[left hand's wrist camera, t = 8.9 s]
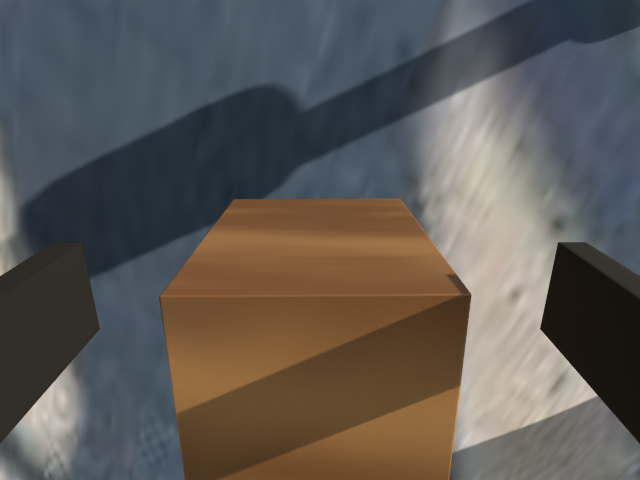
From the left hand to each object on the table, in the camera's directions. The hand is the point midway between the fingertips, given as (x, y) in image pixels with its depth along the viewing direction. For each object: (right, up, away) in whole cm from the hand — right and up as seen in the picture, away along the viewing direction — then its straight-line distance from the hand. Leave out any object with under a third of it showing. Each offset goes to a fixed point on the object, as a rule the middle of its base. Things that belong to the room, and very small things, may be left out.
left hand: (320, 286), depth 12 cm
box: (0, -8, +14) cm, 16 cm away
